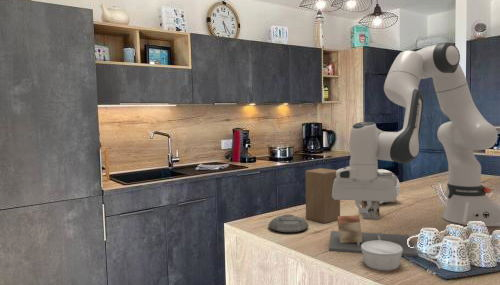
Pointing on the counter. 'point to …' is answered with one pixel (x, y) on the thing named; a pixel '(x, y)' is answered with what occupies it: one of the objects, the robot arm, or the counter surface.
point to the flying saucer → (288, 223)
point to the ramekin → (381, 254)
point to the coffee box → (372, 210)
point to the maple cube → (349, 229)
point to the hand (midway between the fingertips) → (363, 213)
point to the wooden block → (321, 196)
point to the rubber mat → (356, 246)
